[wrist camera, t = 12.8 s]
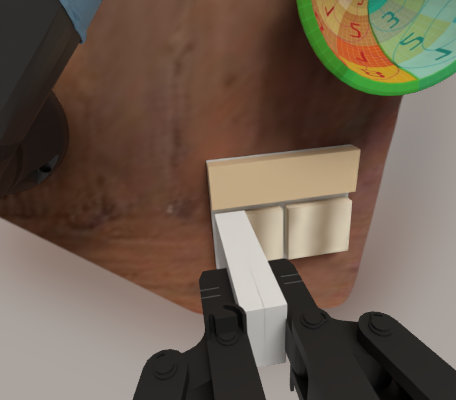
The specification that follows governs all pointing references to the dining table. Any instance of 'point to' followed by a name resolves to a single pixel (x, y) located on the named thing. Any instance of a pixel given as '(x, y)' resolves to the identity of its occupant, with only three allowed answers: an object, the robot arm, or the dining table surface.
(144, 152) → the dining table surface
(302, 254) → the beige square panel
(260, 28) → the dining table surface
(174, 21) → the dining table surface
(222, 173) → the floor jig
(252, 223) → the cream flat block
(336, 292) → the dining table surface
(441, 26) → the bowl
